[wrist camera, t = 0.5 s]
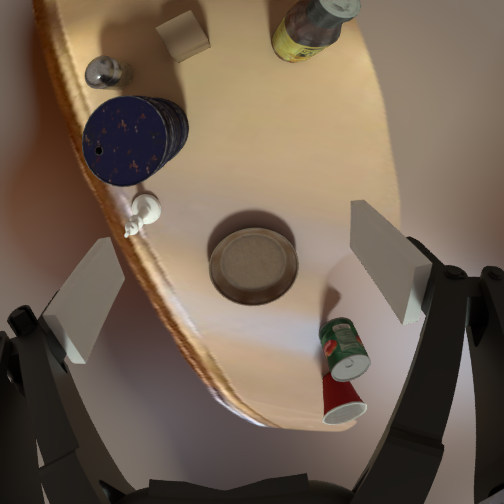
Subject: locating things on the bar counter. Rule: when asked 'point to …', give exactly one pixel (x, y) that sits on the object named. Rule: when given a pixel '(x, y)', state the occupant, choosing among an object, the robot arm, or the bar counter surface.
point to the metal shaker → (108, 73)
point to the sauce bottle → (311, 27)
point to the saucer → (253, 266)
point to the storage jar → (133, 138)
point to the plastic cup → (340, 401)
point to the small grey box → (183, 36)
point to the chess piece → (143, 213)
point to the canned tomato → (343, 349)
